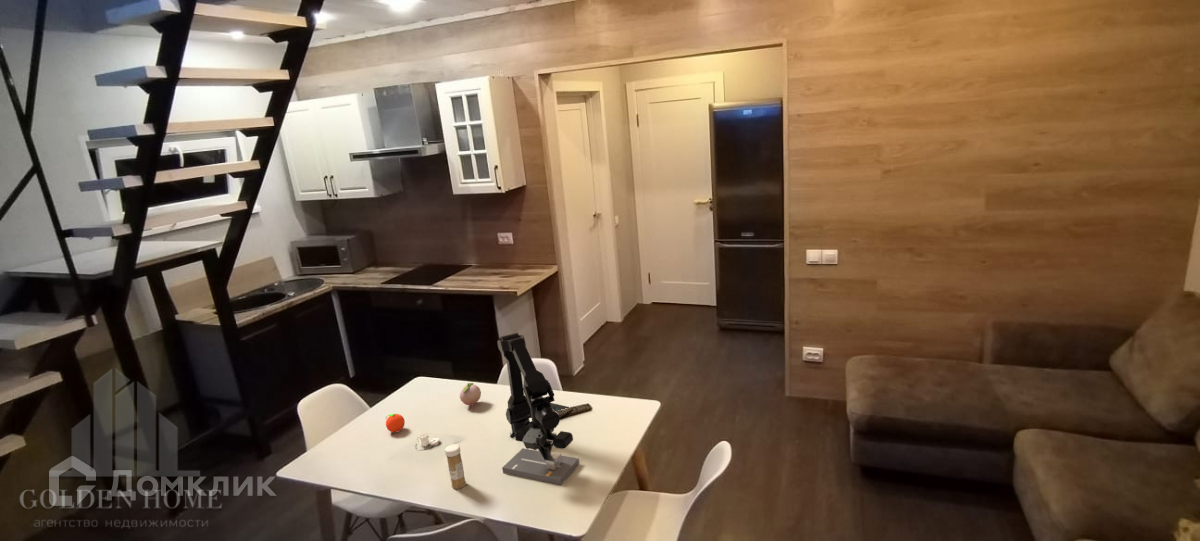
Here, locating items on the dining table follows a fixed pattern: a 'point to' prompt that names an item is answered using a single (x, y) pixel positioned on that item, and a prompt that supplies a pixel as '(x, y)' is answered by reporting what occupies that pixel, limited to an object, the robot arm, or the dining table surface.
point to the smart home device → (557, 406)
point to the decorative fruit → (470, 394)
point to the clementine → (395, 422)
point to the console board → (539, 467)
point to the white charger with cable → (427, 440)
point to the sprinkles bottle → (455, 466)
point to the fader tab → (554, 460)
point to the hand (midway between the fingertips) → (546, 460)
